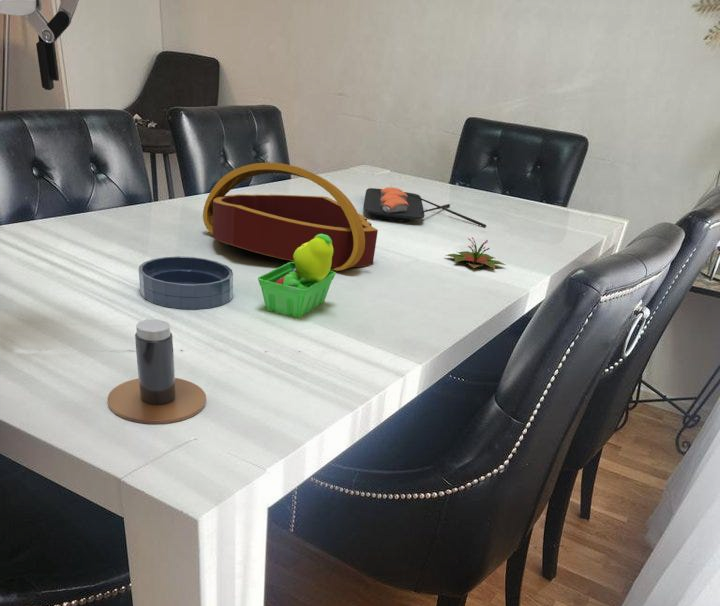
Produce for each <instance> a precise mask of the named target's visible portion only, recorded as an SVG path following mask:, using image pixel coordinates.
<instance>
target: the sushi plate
mask: <svg viewBox="0 0 720 606" xmlns="http://www.w3.org/2000/svg"><path fill="white" fill-rule="evenodd" d="M423 202H425V203H426V204H430V205H432V206H434V207H432V208H429V209H424V205H423ZM448 206H450V207H451V204H450V203H448V204H443V205H439V204H437V203H434V202H431V201H429V200H427V199H425V198H422V197H421V196H420V194H417V193H414V192H407V191H403V190H402V189H400V188H399V187H392V186H391V187H390V186H389V187H385V188H374V187H368V188H367V189H366V190H365V194H364V200H363V211H364V212H366V213H369V214H372V215H374V216H375V217H376V218H379V219H383V218H384V219H383V220H389V219H392V220H391V221H397V220H403V221H402V222H410V221H411V220H422V219H424V218H425V213H427V212H431V211H435V210H440V209H441V210H444V211H446V212H447V213H450V214H453V215H454V216H457V217H460V218H462V219H464V220H465V221H469V222H471V223H473V224H476V225H477V224H478V225H477V226H480V225H481V226H480V227H482V226H484V227H483V228H487V224H486V223H483V222H480V221H478V220H476V219H473V218H470V217H469V216H465V215H463V214H462V213H458V212H456V211H453V210H450V209H448V208H449V207H448ZM409 220H410V221H409Z"/></svg>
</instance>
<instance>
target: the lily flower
mask: <svg viewBox="0 0 720 606" xmlns="http://www.w3.org/2000/svg"><path fill="white" fill-rule="evenodd" d="M471 239H472V240H473V241H472V240H471ZM467 240H468V241H469V242H471V243H472V244H471V246H470V245H468V248H469V249H470V250H471V251H472V252H471V251H469V250H464V251H457V253H449V254H446V256H447V257H452V258H454V261H453V263H458V262H462V261H464V262H465V264H468V265H469V266H470V267H471V268H473V269H475V268H478V267H482V266H484V265H487V266H489V267H490V268H492V269H494V270H496V265H503V266H507V264H506V263H504V262H502V261H501V260H500V261H499V260H495V259H496V257H495V256H492V255H490V254H487V253H485V252H486V251H488V250H490V247H487V248H486V246H484V245H485V244H487V243H488V241H489V240H488V239H486V240H485V241H484V242H483V243H482V244H481V245H480V247H479V248H478V247H477V243H476V241H475V239H474V237H473V236H472V237H471V238H467ZM482 250H483V251H482Z"/></svg>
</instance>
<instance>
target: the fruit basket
mask: <svg viewBox="0 0 720 606" xmlns="http://www.w3.org/2000/svg"><path fill="white" fill-rule="evenodd" d="M332 256H333V246H332V240H331V238H330V237H329V236H328V235H324V234H318V235H316V236H315V237H314V239H312V240H310V241H309V242H307V243H304V244H302V245H301V246H300V247H298V248H297V249H296V250H295V252H294V255H293V258H294V261H290V262H287V263H284V264H283V265H281V266H279V267H277V268H275V269H272V270H271V271H269V272H267V273H265V274H262V275H260V276H258V277H257V281H258V284H259V286H260V289H261V292H262V297H263V301H264V306H265V309H266V311H268V312H274V313H277V314H280V315H284V316H289V317H293V318H296V319H300V318H302V317H303V316H304V315H305V314H308V313H309V312H311V311H312V310H313V309H315V308H317V307H318V306H319V305H321V304H323V303H325V301H326V298H327V295H328V292H329V290H330V287H331V284H332V281H333V280H334V278H335V276H336V272H337V271H335V270H330V268H331V264H332Z"/></svg>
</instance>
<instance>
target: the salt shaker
mask: <svg viewBox="0 0 720 606" xmlns="http://www.w3.org/2000/svg"><path fill="white" fill-rule="evenodd" d="M135 328H136V332H135V333H134V341H135V343H134V344H135V353H136V365H137V376H138V377H137V378H139V389H140V398H141V400H142V401H143V402H145V403H147V404H151V405H164V404H168V403H170V402H172V401H174V400H175V398H176V392H175V378H176V377H175V376H176V375H175V357H174V355H175V354H174V338H173V336H174V335H173V333H172V332H171V324H170V323H169V322H168V321H165V320H161V319H154V318H152V319H143V320H141V321H139V322H137V323H136V324H135Z"/></svg>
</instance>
